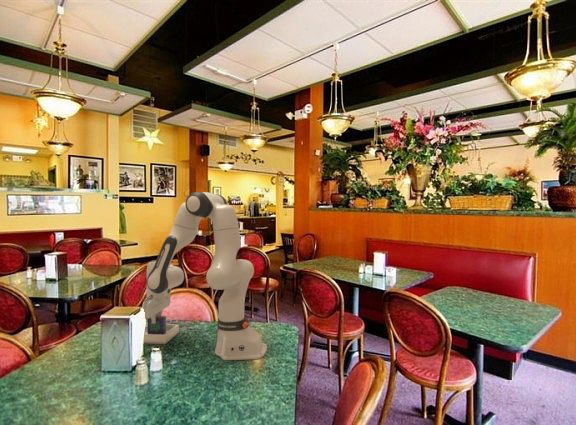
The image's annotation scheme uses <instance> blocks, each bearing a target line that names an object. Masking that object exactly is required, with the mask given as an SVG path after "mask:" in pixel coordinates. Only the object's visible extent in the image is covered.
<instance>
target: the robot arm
mask: <svg viewBox="0 0 576 425" xmlns="http://www.w3.org/2000/svg"><path fill="white" fill-rule="evenodd" d="M203 218H205V219H207V218H209V219H210V220H211V222H212V229H213V237H214V239H213V240H214V255H213V260H212V263H211V266H210V267H209V269H208V270H207V272H206V275H205V276H206V283H207V285H208V286H209V287H210V289H213V290H214V291H215V290H218V291H219V290H221V291H222V290H223V293H222V295H221V296H220V298H219V300H218V318H217V324H216V326H217V327H216V328H217V338H216V346H215V349H214V354H215V355H216V356H218V357H220V358H221V360H223V361H237V360H238V361H239V360H240V361H241V360H242V361H243V360H259V359H261V358H263V357H264V356H265V355H266V353H267V351H268V346H267V344H266V343H264V342H263V341H262V336H261V334H260V333H259V332H258V331H256V330H255V329H254V328H253V327H251V326H250V325H249V324H250V318H249V317H248V318H247V317H246V316H245V300H246V294H247V290H248V287H249V283H250V281H251V279H252V278H253V276H254V273H255V269H254V265H253V263H252V262H251V261H250V260H247V259H243V258H242V259H241V258H240V259H237V255H238V252H239V249H240V248H241V245H242V243H241V234H240V228H239V227H240V225H239V220H238V217H237V213H236V210H235V208H234V207H233V206H232V205H230V204H228V201H227V199H226V198H225V197H224V196H222V195H221V194H217V193H212V192H206V191H203V192H202V191H195V192H192V193H190V194H188V196H187V197H186V199H185V202H183V203H181V204H180V206H179V208H178V211H177V212H176V214H175V218H174V222H173V224H172V226H171V227H172V228H171V229H170V232H169V234H168V235H167V237H166V238H165V239H164V241H163V243H162V246H161V248H160V251H159V253H158V255H157V258H156V259H154V260H150V261H149V262H148V263H147V266H146V298H145V299H144V300H143V302H142V305H141V309H142V308H143V309H144V312H145V318H144V319H147V318H151V320H152V324H155V323H156V322H157V319H156V318H155V316H156V314H157V313H158V316H163V312H164V310H165V309H167V308H169V307H170V304H171V292H172V289H174V288H175V287H178V286H180V285H182V284H183V283H184V281H185V273H184V271H183V269H182V268H181V267H179V266H175V265H173V264H172V261H173V258H174V256H175V255H176V254H177V253H178V252H179V251H180V250H181V249H182V248H184V247H185V246H187V245H190V244H191V243H192V242H193V241H194V239H195V238H196V236H197V233H198V230H199V226H200V222H201V221H202V219H203Z"/></svg>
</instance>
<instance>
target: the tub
mask: <svg viewBox="0 0 576 425" xmlns="http://www.w3.org/2000/svg"><path fill="white" fill-rule="evenodd" d="M145 326H146V327H145V334H144V343H143V344H148V345H166V344H167V343H168V342H170V341H171V340H172V339H173V338H174V337H175V336H177V335H178V334H180V325H179V324H169V323H166V334H164V335H161V334H148V333H147V328H148V324H147V323H146V325H145Z"/></svg>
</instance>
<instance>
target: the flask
mask: <svg viewBox="0 0 576 425" xmlns="http://www.w3.org/2000/svg"><path fill="white" fill-rule="evenodd" d="M155 318H156V319H157V322H156V323H155V324H152V320H151V318H146V319H147V320H146V322H147V323H146V325H147V324H148V328H147V333H148V334H161V335H164V334H166V324H167V317H166V315H162V316H158V313H157V314H156V316H155Z"/></svg>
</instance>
